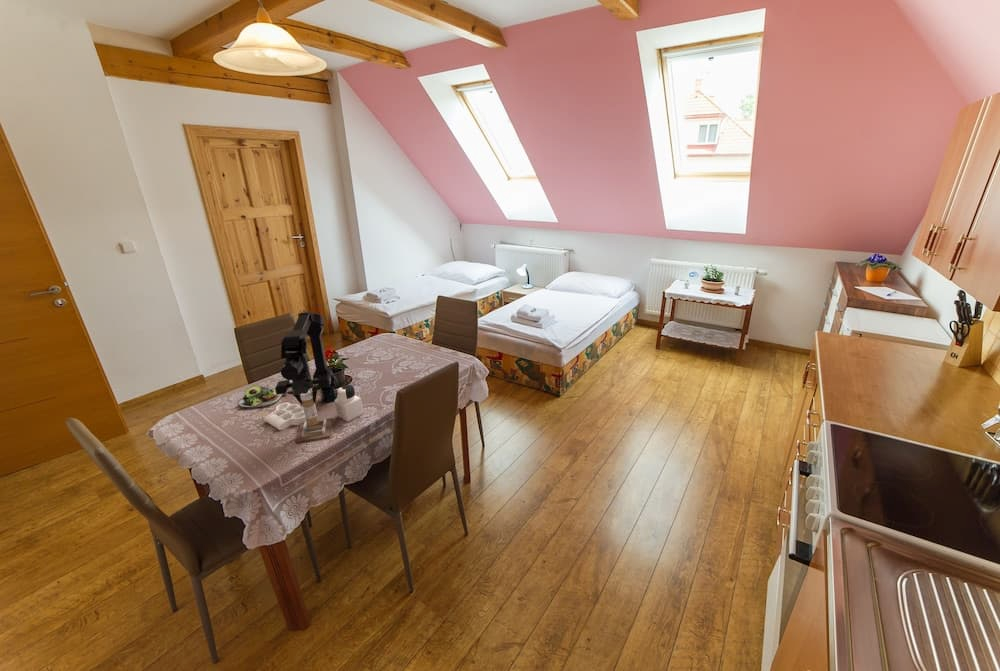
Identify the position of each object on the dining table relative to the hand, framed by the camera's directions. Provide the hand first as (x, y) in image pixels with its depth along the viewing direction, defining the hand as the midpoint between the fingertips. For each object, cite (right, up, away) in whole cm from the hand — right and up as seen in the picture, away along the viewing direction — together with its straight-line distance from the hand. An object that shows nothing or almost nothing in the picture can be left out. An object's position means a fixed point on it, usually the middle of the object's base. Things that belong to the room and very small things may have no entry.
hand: (308, 403), depth 162 cm
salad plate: (-35, -3, +30) cm, 46 cm away
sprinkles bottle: (0, -9, +4) cm, 9 cm away
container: (+11, -7, +15) cm, 20 cm away
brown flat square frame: (0, -12, +5) cm, 13 cm away
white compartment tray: (-14, -9, +14) cm, 22 cm away
